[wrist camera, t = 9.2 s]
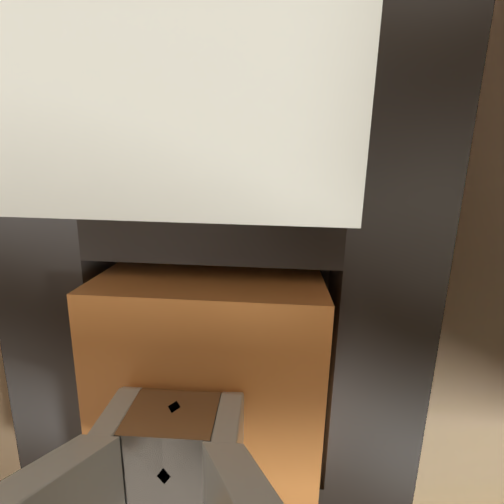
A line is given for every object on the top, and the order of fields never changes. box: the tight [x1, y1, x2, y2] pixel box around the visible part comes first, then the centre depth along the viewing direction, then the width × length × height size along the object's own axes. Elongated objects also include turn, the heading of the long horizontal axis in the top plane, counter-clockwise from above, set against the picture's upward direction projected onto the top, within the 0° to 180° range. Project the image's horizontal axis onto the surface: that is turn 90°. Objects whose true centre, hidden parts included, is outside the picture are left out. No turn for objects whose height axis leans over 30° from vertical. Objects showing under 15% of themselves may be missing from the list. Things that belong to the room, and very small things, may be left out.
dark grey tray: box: [0, 0, 495, 504], centre depth 9 cm, size 26×12×3 cm, turn 179°
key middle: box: [0, 0, 383, 228], centre depth 7 cm, size 6×6×3 cm
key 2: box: [67, 262, 335, 504], centre depth 10 cm, size 6×6×3 cm
